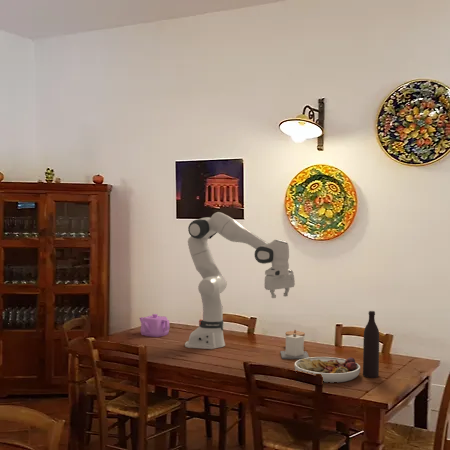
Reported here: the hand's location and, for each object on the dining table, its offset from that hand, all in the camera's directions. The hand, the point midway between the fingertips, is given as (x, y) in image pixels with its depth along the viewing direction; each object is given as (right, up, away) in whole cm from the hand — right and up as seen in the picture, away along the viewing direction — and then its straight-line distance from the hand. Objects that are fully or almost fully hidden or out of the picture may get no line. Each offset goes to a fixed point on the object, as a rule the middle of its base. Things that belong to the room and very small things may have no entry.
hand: (279, 297), depth 317 cm
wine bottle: (+39, -32, -37) cm, 63 cm away
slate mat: (+8, -31, 0) cm, 32 cm away
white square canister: (+8, -30, 0) cm, 31 cm away
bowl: (+19, -32, -35) cm, 52 cm away
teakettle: (-72, -29, +50) cm, 92 cm away
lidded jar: (+10, -30, +21) cm, 38 cm away
